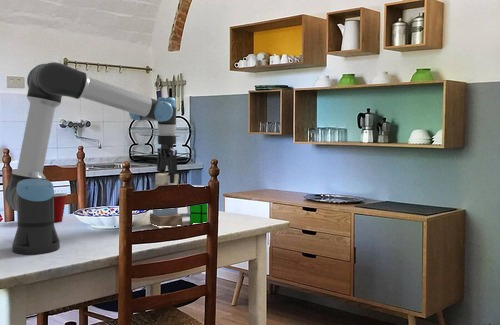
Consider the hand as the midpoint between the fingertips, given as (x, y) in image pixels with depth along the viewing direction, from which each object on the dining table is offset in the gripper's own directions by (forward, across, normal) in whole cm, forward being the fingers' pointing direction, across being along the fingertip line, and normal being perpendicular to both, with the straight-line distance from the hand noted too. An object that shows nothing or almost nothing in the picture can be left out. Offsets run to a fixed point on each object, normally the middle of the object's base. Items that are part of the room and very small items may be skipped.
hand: (166, 189), depth 232 cm
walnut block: (+15, 0, +1) cm, 15 cm away
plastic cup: (+15, +30, +38) cm, 51 cm away
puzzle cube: (+15, -3, -16) cm, 22 cm away
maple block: (0, 0, 0) cm, 0 cm away
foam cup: (+15, +16, -22) cm, 31 cm away
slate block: (+10, 0, +1) cm, 10 cm away
